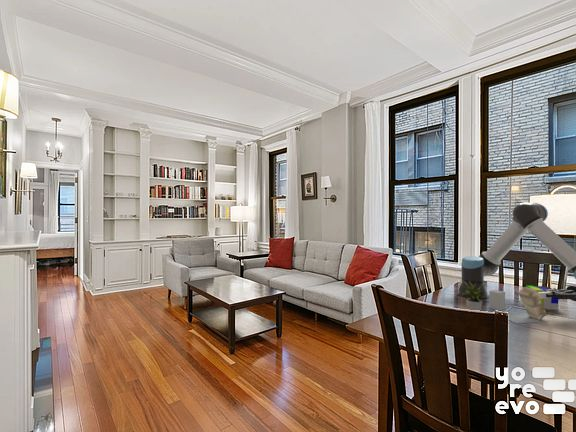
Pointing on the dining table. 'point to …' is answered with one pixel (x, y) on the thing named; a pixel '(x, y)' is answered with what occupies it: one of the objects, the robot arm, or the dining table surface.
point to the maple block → (532, 303)
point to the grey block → (497, 300)
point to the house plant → (473, 297)
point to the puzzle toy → (546, 302)
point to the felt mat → (521, 319)
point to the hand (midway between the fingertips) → (538, 295)
